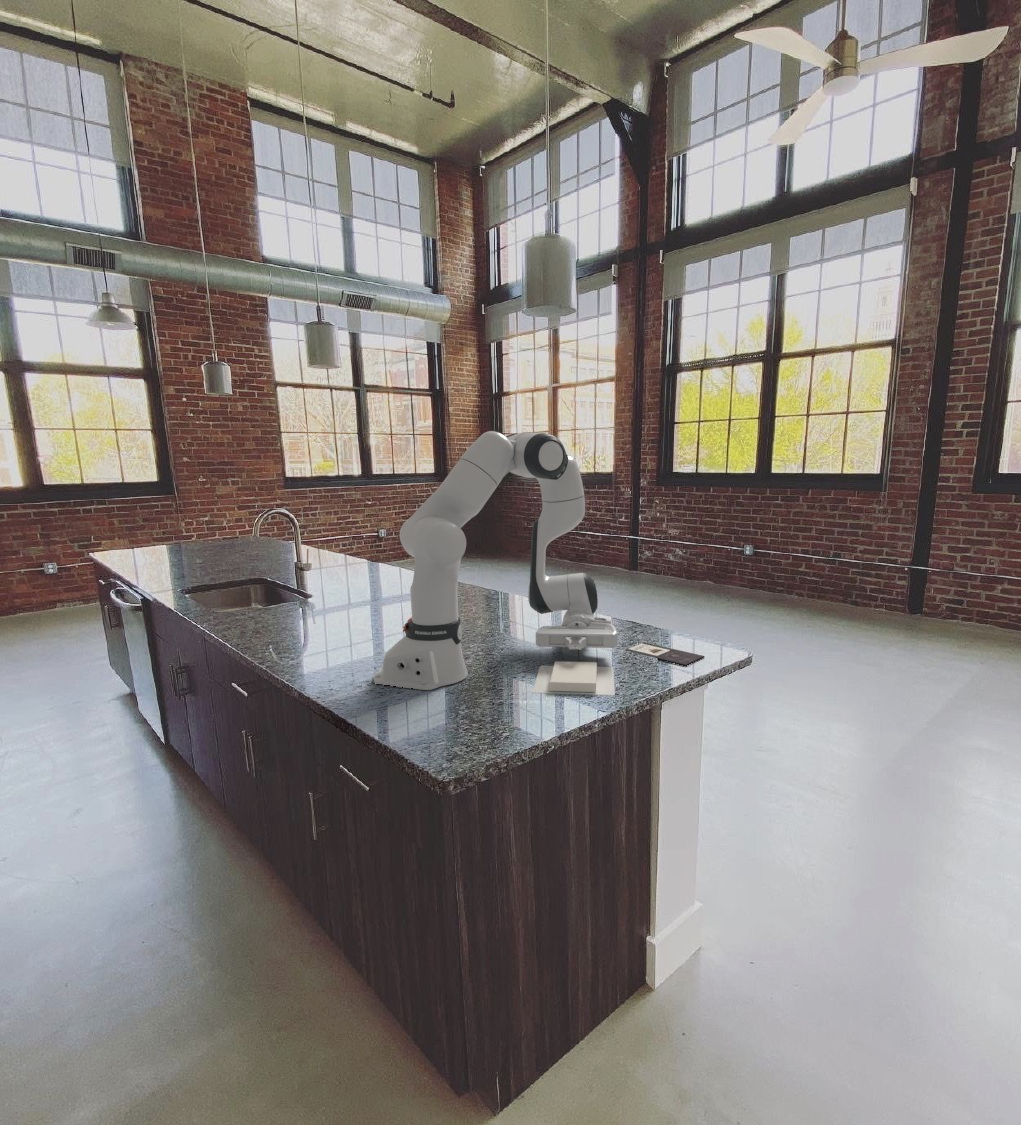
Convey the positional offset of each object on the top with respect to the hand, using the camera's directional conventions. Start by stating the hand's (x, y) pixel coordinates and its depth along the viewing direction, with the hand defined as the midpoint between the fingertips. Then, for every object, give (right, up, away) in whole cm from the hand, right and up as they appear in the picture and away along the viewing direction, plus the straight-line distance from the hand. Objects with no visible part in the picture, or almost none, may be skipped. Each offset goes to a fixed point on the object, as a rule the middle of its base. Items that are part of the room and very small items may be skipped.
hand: (575, 646), depth 142 cm
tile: (0, -5, +2) cm, 5 cm away
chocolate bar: (+25, -5, +14) cm, 28 cm away
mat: (0, -8, -3) cm, 8 cm away
